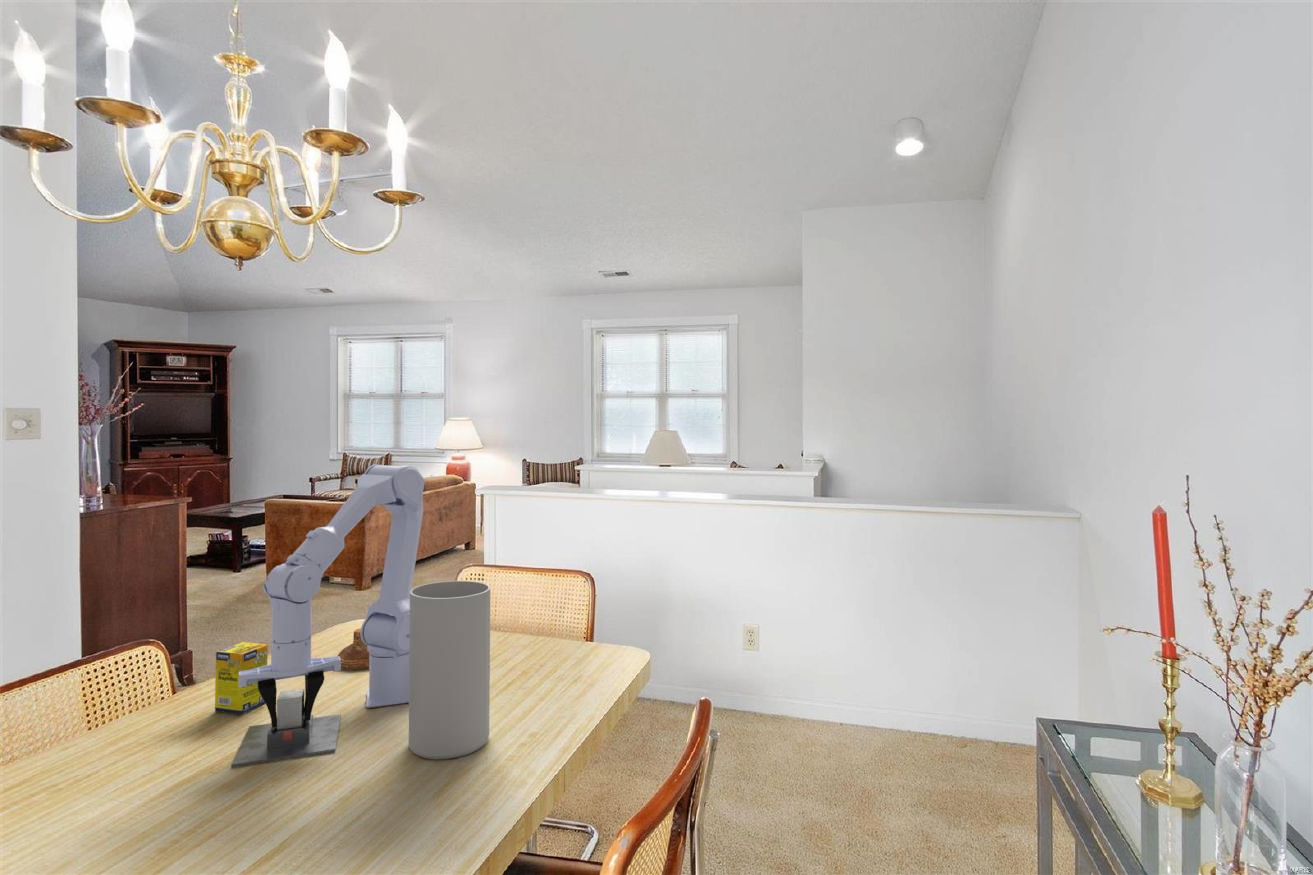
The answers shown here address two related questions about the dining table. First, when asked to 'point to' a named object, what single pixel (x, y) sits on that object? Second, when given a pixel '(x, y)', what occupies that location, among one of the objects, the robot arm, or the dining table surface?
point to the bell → (355, 654)
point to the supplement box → (227, 677)
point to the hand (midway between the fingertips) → (290, 721)
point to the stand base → (288, 741)
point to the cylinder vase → (449, 668)
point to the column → (290, 710)
